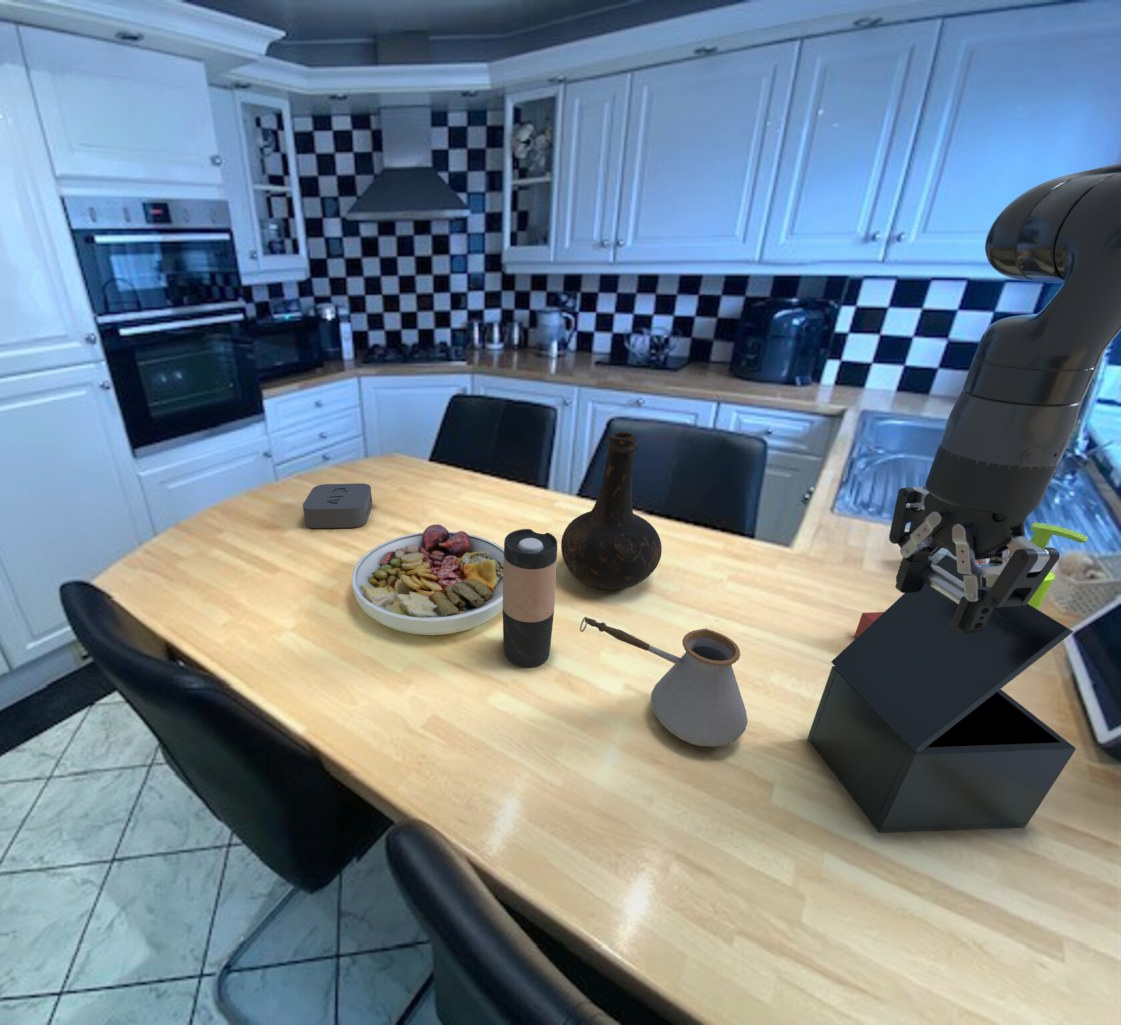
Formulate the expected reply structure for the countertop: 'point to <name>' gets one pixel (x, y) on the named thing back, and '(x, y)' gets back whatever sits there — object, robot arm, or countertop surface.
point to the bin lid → (941, 656)
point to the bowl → (431, 582)
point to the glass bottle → (612, 528)
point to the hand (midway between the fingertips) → (933, 609)
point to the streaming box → (338, 505)
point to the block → (866, 621)
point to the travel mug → (528, 596)
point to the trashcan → (939, 763)
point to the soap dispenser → (1041, 540)
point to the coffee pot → (696, 687)
